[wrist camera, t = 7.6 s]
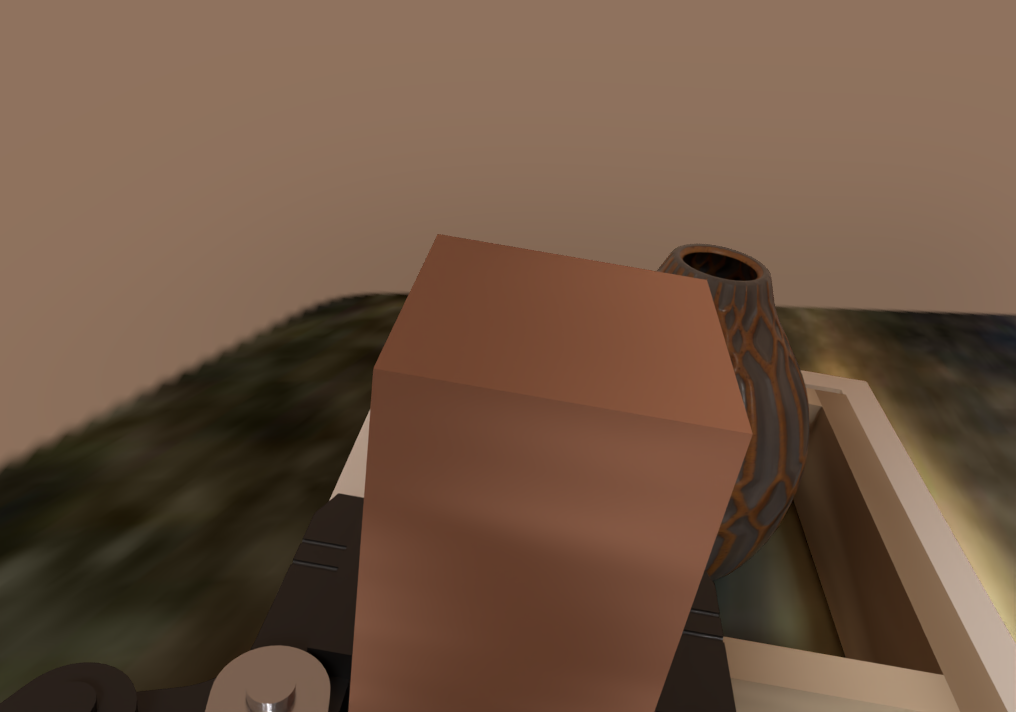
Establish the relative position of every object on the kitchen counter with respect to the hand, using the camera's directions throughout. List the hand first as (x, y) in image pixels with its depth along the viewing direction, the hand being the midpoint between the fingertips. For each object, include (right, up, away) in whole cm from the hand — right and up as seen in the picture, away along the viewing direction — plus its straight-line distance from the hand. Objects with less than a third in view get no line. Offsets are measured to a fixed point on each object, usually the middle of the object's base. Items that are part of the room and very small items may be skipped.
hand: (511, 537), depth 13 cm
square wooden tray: (+3, -4, +7) cm, 9 cm away
